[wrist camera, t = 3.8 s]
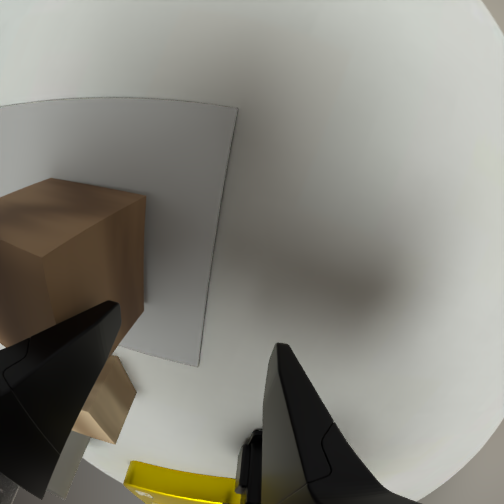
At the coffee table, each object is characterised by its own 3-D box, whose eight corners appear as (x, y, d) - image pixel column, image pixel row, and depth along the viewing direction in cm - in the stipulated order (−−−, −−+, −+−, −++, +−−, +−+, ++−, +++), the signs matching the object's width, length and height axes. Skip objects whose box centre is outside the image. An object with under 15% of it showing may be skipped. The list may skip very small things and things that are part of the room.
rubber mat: (237, 108, 10) (237, 108, 10) (198, 363, 16) (197, 367, 16) (-51, 118, 10) (-53, 119, 9) (-33, 275, 16) (-35, 277, 16)
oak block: (118, 355, 17) (88, 412, 12) (136, 392, 19) (115, 444, 14) (75, 348, 17) (43, 397, 13) (95, 384, 19) (71, 430, 15)
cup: (31, 383, 21) (-8, 449, 12) (94, 424, 23) (63, 497, 14) (36, 410, 25) (7, 464, 16) (89, 443, 26) (65, 501, 17)
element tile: (245, 502, 32) (243, 526, 28) (155, 488, 33) (149, 510, 29) (245, 476, 26) (242, 509, 22) (126, 455, 27) (116, 484, 22)
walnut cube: (147, 195, 11) (41, 257, 6) (144, 309, 14) (81, 396, 8) (51, 177, 12) (-43, 217, 6) (60, 277, 14) (-8, 336, 9)
